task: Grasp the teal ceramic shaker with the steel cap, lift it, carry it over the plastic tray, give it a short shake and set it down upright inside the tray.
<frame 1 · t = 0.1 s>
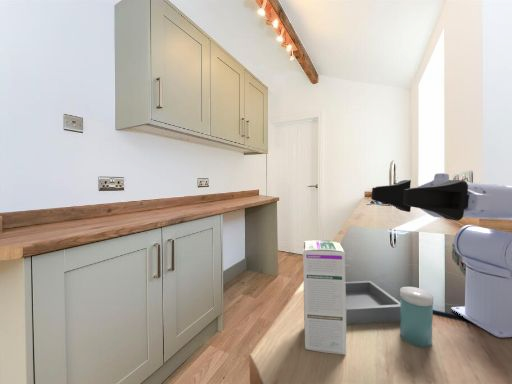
hand: (387, 195, 37), 22 cm above the countertop, tool horizontal, fingers open, 7 cm apart
tray: (360, 306, 44), on the countertop
shaker: (415, 338, 35), on the countertop
syrup box: (323, 341, 35), on the countertop
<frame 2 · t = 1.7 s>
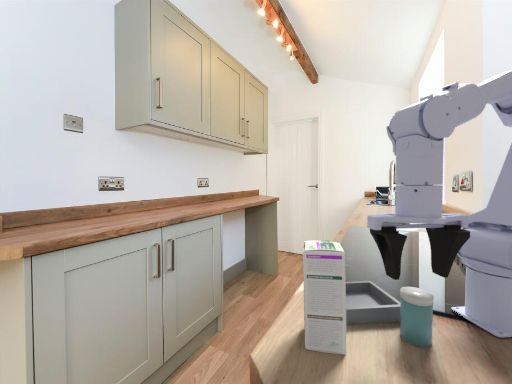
hand: (416, 276, 35), 10 cm above the countertop, tool pointing down, fingers open, 7 cm apart
nothing on the countertop moved.
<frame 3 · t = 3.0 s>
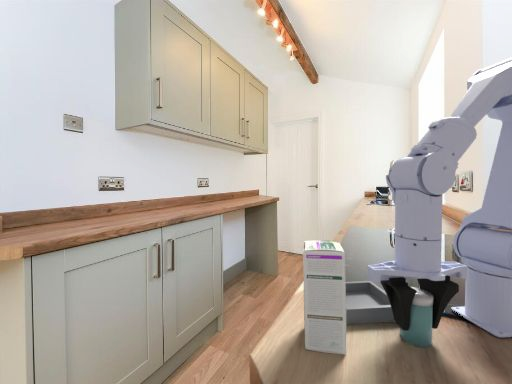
hand: (415, 325, 35), 2 cm above the countertop, tool pointing down, fingers closed on shaker, 4 cm apart
shaker: (415, 338, 35), on the countertop, touching gripper
everything else where it was.
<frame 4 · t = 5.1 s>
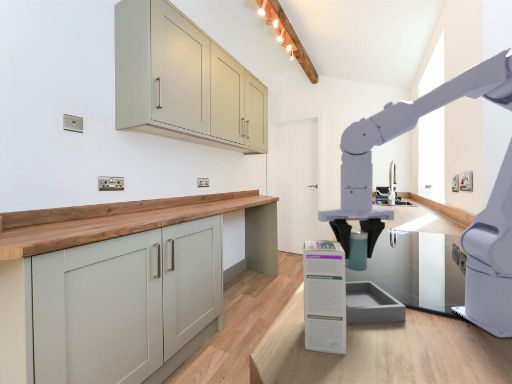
hand: (355, 257, 46), 9 cm above the countertop, tool pointing down, fingers closed on shaker, 4 cm apart
shaker: (355, 267, 46), point 7 cm above the countertop, touching gripper
everything else where it was.
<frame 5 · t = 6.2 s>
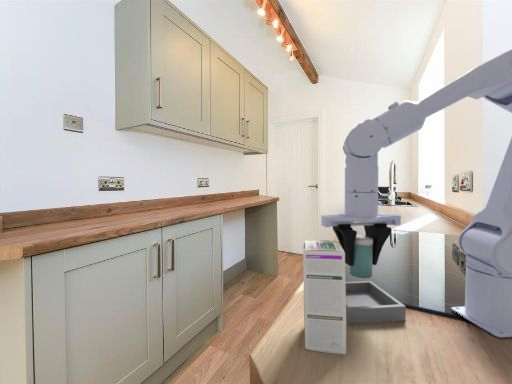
hand: (360, 263, 44), 8 cm above the countertop, tool pointing down, fingers closed on shaker, 4 cm apart
shaker: (360, 273, 44), point 6 cm above the countertop, touching gripper
everything else where it was.
when the fingers open (4 cm above the countertop, at t = 7.3 s): shaker drops 1 cm, resting on tray.
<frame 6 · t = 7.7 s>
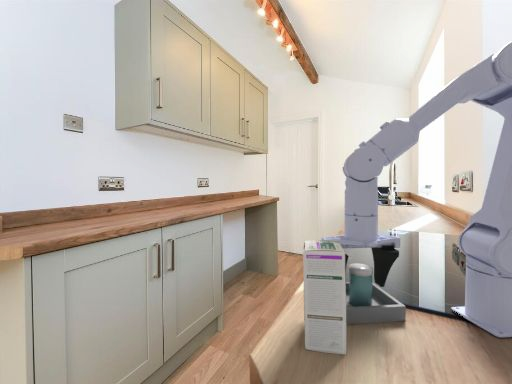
hand: (360, 285, 44), 4 cm above the countertop, tool pointing down, fingers open, 7 cm apart
shaker: (360, 303, 44), point 1 cm above the countertop, touching tray
everything else where it was.
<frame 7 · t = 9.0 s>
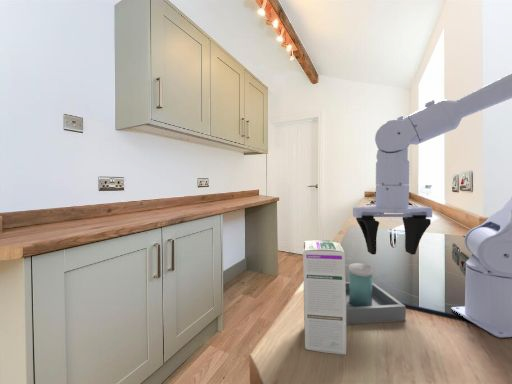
hand: (391, 253, 47), 9 cm above the countertop, tool pointing down, fingers open, 7 cm apart
nothing on the countertop moved.
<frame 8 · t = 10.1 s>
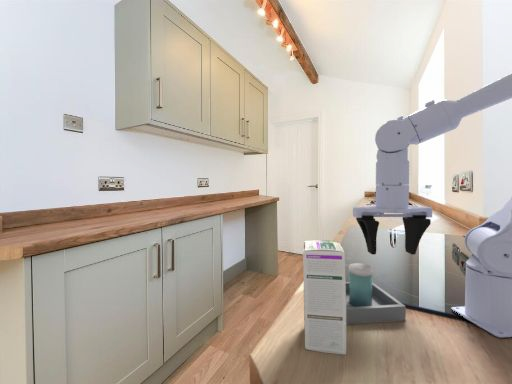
hand: (391, 253, 47), 9 cm above the countertop, tool pointing down, fingers open, 7 cm apart
nothing on the countertop moved.
at the end: shaker 0.1 cm off-centre on the tray, point 0.6 cm above the tray's base; shaker tilted 0°; the gripper is holding nothing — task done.
